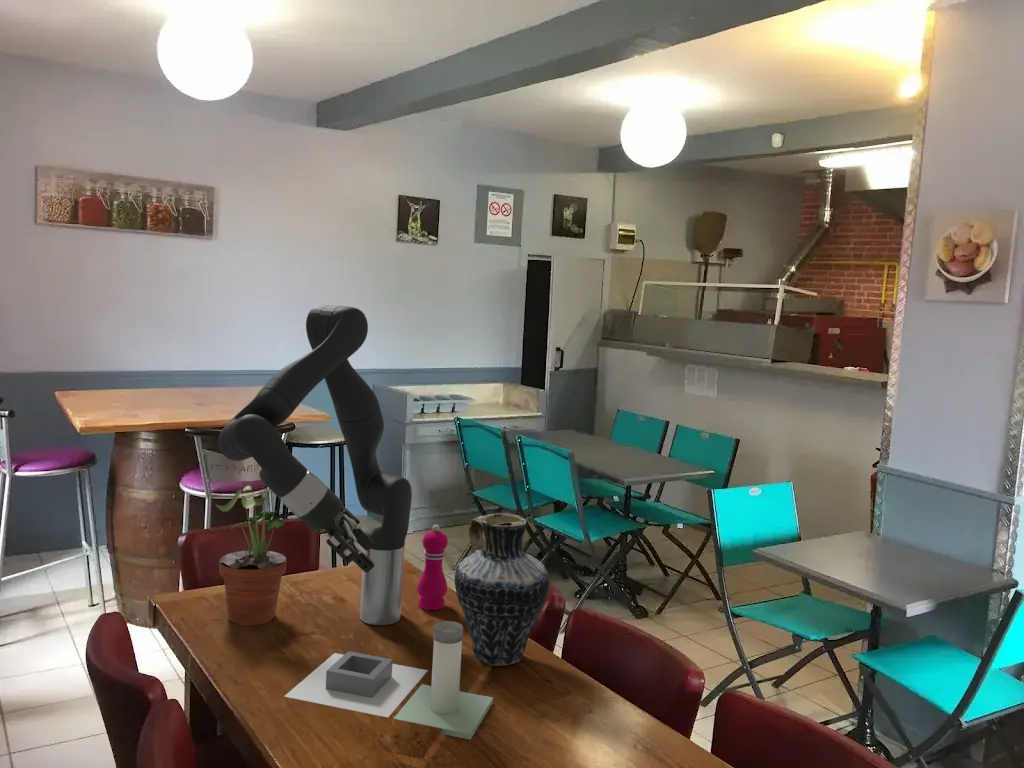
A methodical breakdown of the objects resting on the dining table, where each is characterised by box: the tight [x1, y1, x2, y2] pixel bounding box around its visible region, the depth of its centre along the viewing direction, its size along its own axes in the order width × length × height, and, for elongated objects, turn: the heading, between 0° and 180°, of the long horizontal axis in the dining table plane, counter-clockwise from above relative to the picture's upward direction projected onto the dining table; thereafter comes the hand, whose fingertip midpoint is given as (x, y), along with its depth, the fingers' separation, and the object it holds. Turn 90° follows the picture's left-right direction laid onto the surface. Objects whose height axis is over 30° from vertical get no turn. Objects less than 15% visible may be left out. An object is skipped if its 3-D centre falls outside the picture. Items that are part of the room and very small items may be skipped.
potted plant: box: [215, 485, 287, 627], centre depth 186 cm, size 16×15×35 cm
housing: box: [283, 650, 429, 718], centre depth 157 cm, size 20×20×4 cm
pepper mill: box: [416, 524, 449, 611], centre depth 200 cm, size 7×7×20 cm
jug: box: [454, 512, 550, 667], centre depth 173 cm, size 21×19×30 cm
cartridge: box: [430, 620, 464, 715], centre depth 149 cm, size 5×5×15 cm
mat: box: [393, 683, 494, 740], centre depth 150 cm, size 14×14×1 cm
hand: (370, 557), depth 158 cm, fingers open, 8 cm apart
